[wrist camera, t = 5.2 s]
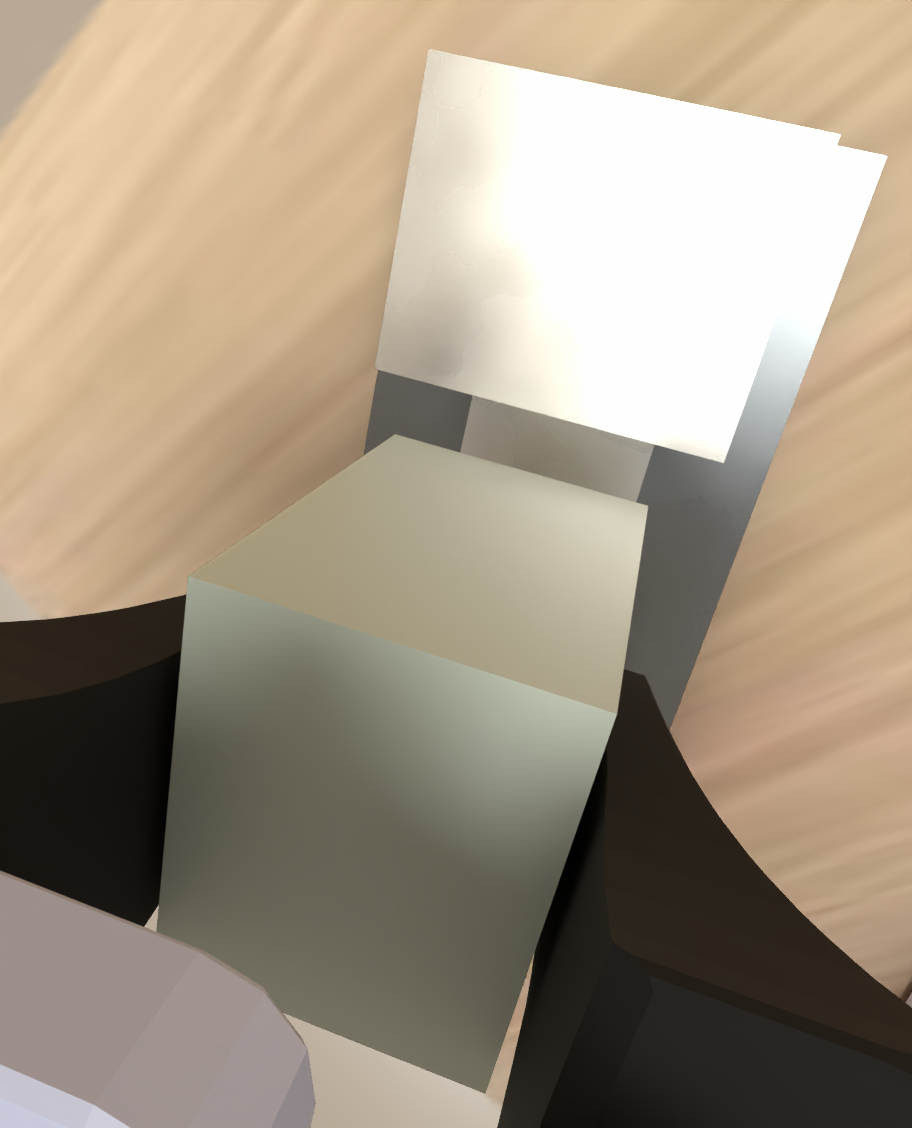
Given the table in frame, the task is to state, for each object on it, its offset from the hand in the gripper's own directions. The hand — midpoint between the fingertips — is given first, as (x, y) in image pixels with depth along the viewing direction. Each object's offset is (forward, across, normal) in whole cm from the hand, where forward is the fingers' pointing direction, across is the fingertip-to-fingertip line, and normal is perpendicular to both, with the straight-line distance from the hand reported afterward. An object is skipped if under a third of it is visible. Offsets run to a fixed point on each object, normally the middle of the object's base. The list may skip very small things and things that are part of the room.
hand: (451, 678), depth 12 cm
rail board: (+9, 0, 0) cm, 9 cm away
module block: (+2, 0, 0) cm, 2 cm away
